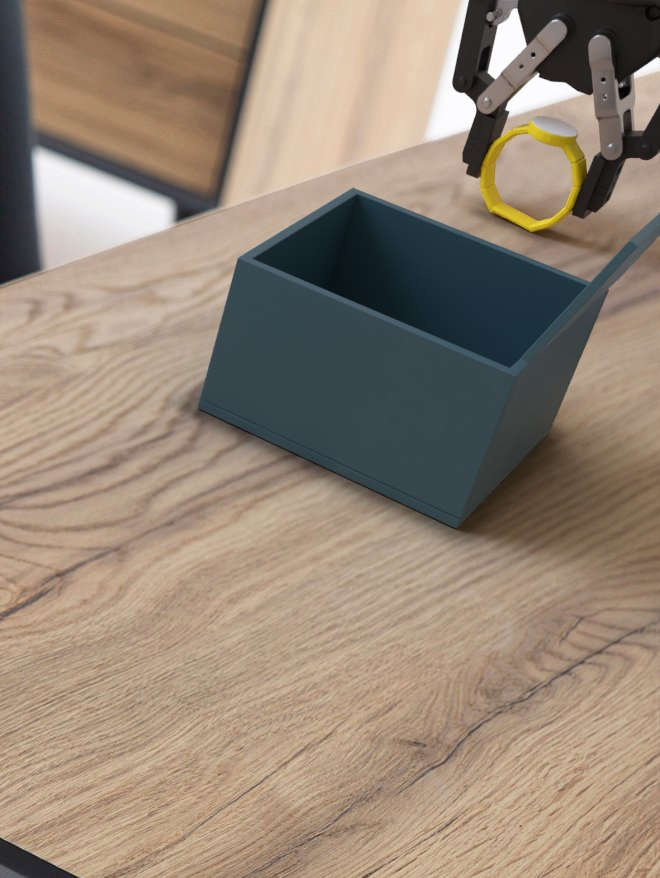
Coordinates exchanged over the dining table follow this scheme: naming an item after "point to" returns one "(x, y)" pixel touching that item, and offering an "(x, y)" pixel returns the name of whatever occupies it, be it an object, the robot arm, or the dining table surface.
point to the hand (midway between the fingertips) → (528, 192)
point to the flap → (598, 285)
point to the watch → (547, 133)
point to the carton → (395, 352)
